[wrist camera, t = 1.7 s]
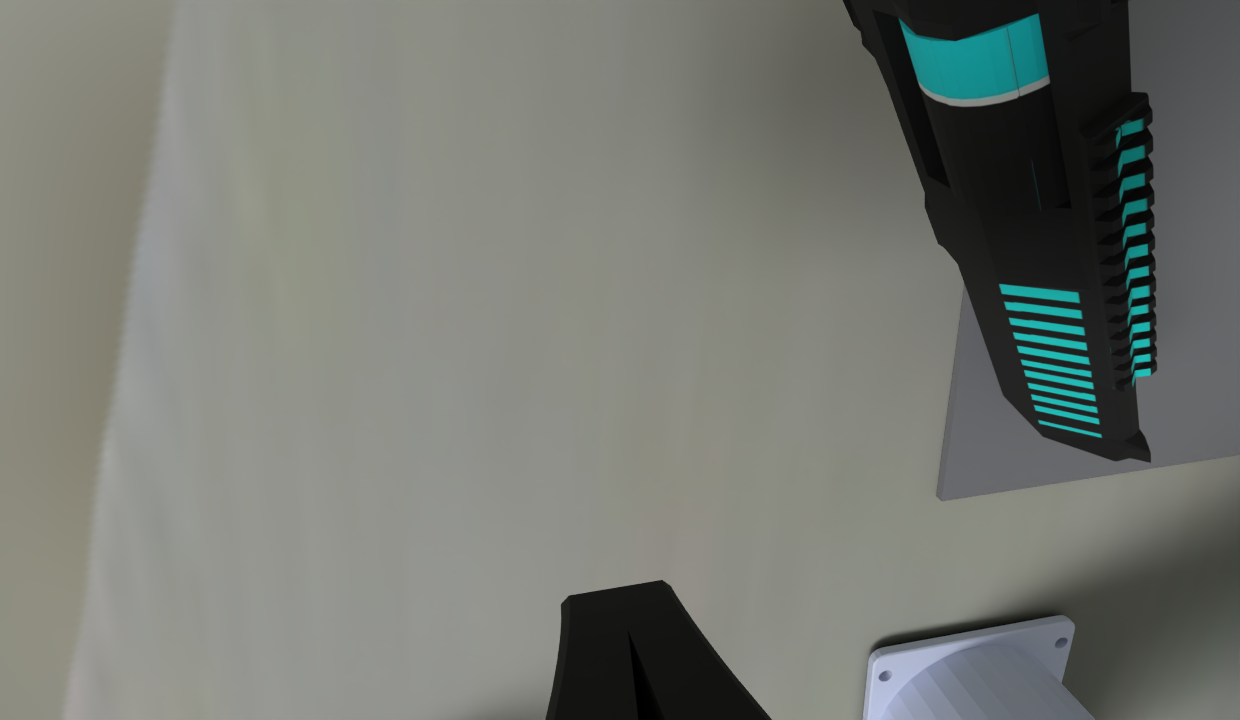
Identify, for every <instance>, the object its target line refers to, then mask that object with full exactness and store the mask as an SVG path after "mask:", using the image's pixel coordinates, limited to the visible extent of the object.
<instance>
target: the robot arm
mask: <svg viewBox="0 0 1240 720" xmlns="http://www.w3.org/2000/svg"><path fill="white" fill-rule="evenodd" d="M1074 632H1075V625H1074V623H1073V622H1072V621H1071V620H1070V619H1069V618H1068V617H1066V616H1064V615H1057V616H1052V617H1046V618H1041V619H1035V620H1030V621H1024V622H1019V623H1013V624H1008V625H1002V626H997V627H991V628H986V629H981V630H975V631H970V632H964V633H959V634H953V635H948V636H942V637H937V638H931V639H926V640H920V641H915V642H909V643H904V644H898V645H893V646H888V647H882V648H879V649H877V650H875V651H874V652H873V653H872V654H871V655H870V658H869V662H868V672H867V682H866V692H865V702H864V712H863V720H1096V719H1095V718H1094V717H1093V716H1092V715H1091V714H1090V713H1089V712H1088V711H1087V710H1086V709H1085V708H1084V707H1083V706H1082V705H1081V704H1080V702H1079V701H1078V700H1077V699H1076V698H1075V697H1074V696H1073V695H1072V694H1071V693H1070V692H1069V691H1068V690H1067V689H1066V688H1065V687H1064V686H1063V684H1062V680H1063V676H1064V672H1065V668H1066V664H1067V660H1068V656H1069V652H1070V648H1071V644H1072V640H1073V636H1074ZM546 720H772V719H771V718H770V717H769V716H768V714H767V713H766V712H765V711H764V710H763V709H762V707H761V706H760V705H759V704H758V703H757V701H756V700H755V699H754V698H753V697H752V695H751V694H750V693H749V692H748V691H747V690H746V688H745V687H744V686H743V685H742V684H741V682H740V681H739V680H738V679H737V678H736V676H735V675H734V674H733V673H732V671H731V670H730V669H729V668H728V666H727V665H726V664H725V663H724V661H723V660H722V659H721V658H720V656H719V655H718V654H717V652H716V651H715V650H714V648H713V647H712V646H711V644H710V643H709V642H708V640H707V639H706V638H705V636H704V635H703V634H702V632H701V631H700V630H699V628H698V627H697V625H696V624H695V623H694V621H693V620H692V618H691V617H690V615H689V614H688V612H687V611H686V610H685V608H684V606H683V605H682V603H681V602H680V600H679V599H678V597H677V596H676V594H675V593H674V591H673V589H672V587H671V586H670V585H668V584H667V583H666V582H664V581H663V580H660V581H654V582H648V583H642V584H636V585H630V586H624V587H618V588H612V589H606V590H600V591H594V592H588V593H582V594H576V595H570V596H568V597H567V598H566V599H565V600H564V602H563V603H562V604H561V634H560V644H559V652H558V659H557V665H556V671H555V677H554V683H553V688H552V693H551V698H550V702H549V706H548V711H547V715H546Z"/></svg>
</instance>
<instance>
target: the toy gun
mask: <svg viewBox="0 0 1240 720" xmlns="http://www.w3.org/2000/svg"><path fill="white" fill-rule="evenodd" d="M1128 1H1129V0H843V2H844V4H845V6H846V9H847V11H848V13H849V16H850V18H851V20H852V22H853V25H854V26H855V27H856V28H857V29H858V30H860V31H861V38H862V45H863V46H864V47H865V48H866V49H867V50H868V51H869V52H870V53H871V54H872V55H873V56H874V57H875V59H876V62H877V64H878V66H879V69H880V71H881V73H882V75H883V78H884V80H885V82H886V85H887V87H888V90H889V93H890V96H891V99H892V101H893V104H894V107H895V110H896V113H897V116H898V119H899V121H900V124H901V127H902V130H903V133H904V136H905V138H906V141H907V144H908V147H909V150H910V153H911V155H912V158H913V161H914V164H915V167H916V169H917V172H918V175H919V178H920V181H921V184H922V186H923V189H924V192H925V209H926V212H927V214H928V217H929V220H930V223H931V225H932V228H933V231H934V234H935V236H936V239H937V242H938V244H940V245H941V246H943V247H944V248H945V249H946V250H947V252H948V253H949V254H950V255H951V256H952V258H953V259H954V260H955V261H956V262H957V264H958V266H959V269H960V272H961V275H962V278H963V280H964V283H965V286H966V289H967V292H968V295H969V298H970V301H971V304H972V307H973V310H974V312H975V315H976V318H977V321H978V324H979V327H980V330H981V333H982V336H983V339H984V342H985V344H986V347H987V350H988V353H989V356H990V359H991V362H992V365H993V368H994V371H995V373H996V376H997V379H998V382H999V385H1000V388H1001V391H1002V394H1003V396H1004V397H1005V398H1006V399H1007V400H1008V401H1009V402H1010V403H1011V404H1012V405H1013V407H1014V408H1015V409H1016V410H1017V411H1018V412H1019V413H1020V414H1021V415H1022V416H1023V417H1024V418H1025V419H1026V420H1027V421H1028V422H1029V423H1030V424H1031V425H1032V426H1033V427H1034V428H1035V429H1036V430H1037V431H1038V432H1039V433H1040V434H1041V435H1042V436H1043V437H1045V438H1048V439H1051V440H1053V441H1056V442H1059V443H1062V444H1065V445H1068V446H1071V447H1074V448H1077V449H1080V450H1083V451H1086V452H1089V453H1092V454H1095V455H1097V456H1100V457H1103V458H1106V459H1109V460H1112V461H1115V462H1117V461H1121V460H1125V459H1129V458H1131V459H1136V460H1140V461H1144V462H1149V463H1151V452H1150V449H1149V446H1148V443H1147V440H1146V438H1145V436H1144V434H1143V433H1142V431H1141V430H1140V429H1139V417H1138V405H1137V393H1136V377H1144V376H1151V375H1152V374H1153V373H1155V372H1156V371H1157V362H1156V359H1155V357H1157V347H1156V345H1155V342H1156V341H1157V333H1156V330H1155V328H1154V327H1155V326H1156V325H1157V322H1156V314H1155V312H1154V310H1153V309H1154V308H1155V307H1156V297H1155V295H1154V292H1155V291H1156V278H1155V276H1154V274H1153V272H1154V271H1155V270H1156V260H1155V258H1154V256H1153V254H1152V251H1153V250H1154V249H1155V236H1154V234H1153V232H1152V230H1151V229H1152V228H1153V227H1155V218H1154V214H1153V212H1152V210H1151V208H1150V207H1151V206H1152V205H1154V204H1155V196H1154V190H1153V188H1152V186H1151V184H1150V183H1149V182H1150V181H1151V180H1152V179H1153V178H1154V171H1153V164H1152V162H1151V160H1150V159H1149V157H1148V155H1149V154H1150V153H1151V152H1153V136H1152V134H1151V132H1150V131H1149V129H1148V127H1147V126H1149V125H1150V124H1151V123H1152V122H1153V110H1152V108H1151V107H1150V105H1149V96H1148V94H1147V92H1132V88H1131V62H1130V36H1129V9H1128Z"/></svg>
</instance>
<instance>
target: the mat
mask: <svg viewBox="0 0 1240 720" xmlns="http://www.w3.org/2000/svg"><path fill="white" fill-rule="evenodd" d="M1128 9H1129V36H1130V62H1131V88H1132V92H1147V94H1148V96H1149V105H1150V107H1151V108H1152V110H1153V122H1152V123H1151V124H1150V125H1149V126H1147V127H1148V129H1149V131H1150V132H1151V134H1152V136H1153V152H1151V153H1150V154H1149V155H1148V157H1149V159H1150V160H1151V162H1152V164H1153V171H1154V178H1153V179H1152V180H1151V181H1150V182H1149V183H1150V184H1151V186H1152V188H1153V190H1154V196H1155V204H1154V205H1152V206H1151V207H1150V208H1151V210H1152V212H1153V214H1154V218H1155V227H1153V228H1152V229H1151V230H1152V232H1153V234H1154V236H1155V249H1154V250H1153V251H1152V254H1153V256H1154V258H1155V260H1156V270H1155V271H1154V272H1153V274H1154V276H1155V278H1156V291H1155V292H1154V295H1155V297H1156V307H1155V308H1154V309H1153V310H1154V312H1155V314H1156V322H1157V325H1156V326H1155V327H1154V328H1155V330H1156V333H1157V341H1156V342H1155V345H1156V347H1157V357H1155V359H1156V362H1157V371H1156V372H1155V373H1153V374H1152V375H1151V376H1144V377H1136V393H1137V405H1138V417H1139V429H1140V430H1141V431H1142V433H1143V434H1144V436H1145V438H1146V440H1147V443H1148V446H1149V449H1150V452H1151V463H1149V462H1144V461H1140V460H1136V459H1131V458H1129V459H1125V460H1121V461H1117V462H1115V461H1112V460H1109V459H1106V458H1103V457H1100V456H1097V455H1095V454H1092V453H1089V452H1086V451H1083V450H1080V449H1077V448H1074V447H1071V446H1068V445H1065V444H1062V443H1059V442H1056V441H1053V440H1051V439H1048V438H1045V437H1043V436H1042V435H1041V434H1040V433H1039V432H1038V431H1037V430H1036V429H1035V428H1034V427H1033V426H1032V425H1031V424H1030V423H1029V422H1028V421H1027V420H1026V419H1025V418H1024V417H1023V416H1022V415H1021V414H1020V413H1019V412H1018V411H1017V410H1016V409H1015V408H1014V407H1013V405H1012V404H1011V403H1010V402H1009V401H1008V400H1007V399H1006V398H1005V397H1004V396H1003V394H1002V391H1001V388H1000V385H999V382H998V379H997V376H996V373H995V371H994V368H993V365H992V362H991V359H990V356H989V353H988V350H987V347H986V344H985V342H984V339H983V336H982V333H981V330H980V327H979V324H978V321H977V318H976V315H975V312H974V310H973V307H972V304H971V301H970V298H969V295H968V292H967V289H966V286H964V294H963V301H962V309H961V316H960V323H959V331H958V338H957V346H956V353H955V361H954V368H953V376H952V383H951V391H950V398H949V405H948V413H947V420H946V428H945V435H944V443H943V450H942V458H941V465H940V473H939V480H938V488H937V495H936V496H937V497H938V498H939V499H940V500H941V501H946V500H953V499H959V498H966V497H972V496H978V495H985V494H991V493H998V492H1004V491H1010V490H1017V489H1023V488H1030V487H1036V486H1043V485H1049V484H1055V483H1062V482H1068V481H1075V480H1081V479H1087V478H1094V477H1100V476H1107V475H1113V474H1119V473H1126V472H1132V471H1139V470H1145V469H1151V468H1158V467H1164V466H1171V465H1177V464H1183V463H1190V462H1196V461H1203V460H1209V459H1216V458H1222V457H1228V456H1235V455H1240V0H1129V1H1128Z"/></svg>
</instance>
